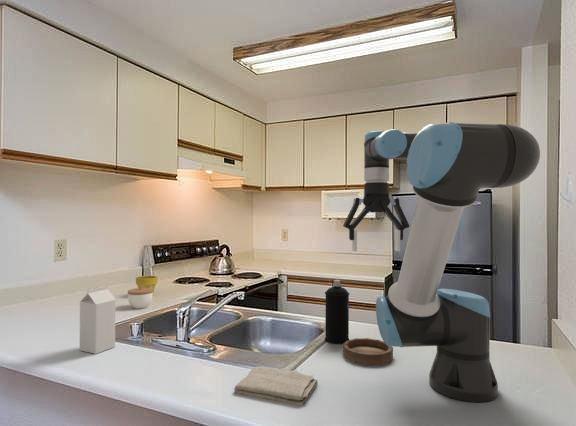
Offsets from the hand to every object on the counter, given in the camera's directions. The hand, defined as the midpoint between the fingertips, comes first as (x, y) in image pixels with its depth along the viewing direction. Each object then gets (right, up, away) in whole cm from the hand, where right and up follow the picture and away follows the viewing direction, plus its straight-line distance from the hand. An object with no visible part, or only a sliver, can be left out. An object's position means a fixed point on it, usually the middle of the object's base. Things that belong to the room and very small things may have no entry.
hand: (376, 250), depth 118 cm
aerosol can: (-11, -31, +9) cm, 34 cm away
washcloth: (-30, -31, -26) cm, 51 cm away
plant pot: (-100, -31, +77) cm, 130 cm away
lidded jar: (-94, -31, +54) cm, 112 cm away
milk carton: (-86, -31, 0) cm, 92 cm away
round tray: (-4, -31, -5) cm, 31 cm away
